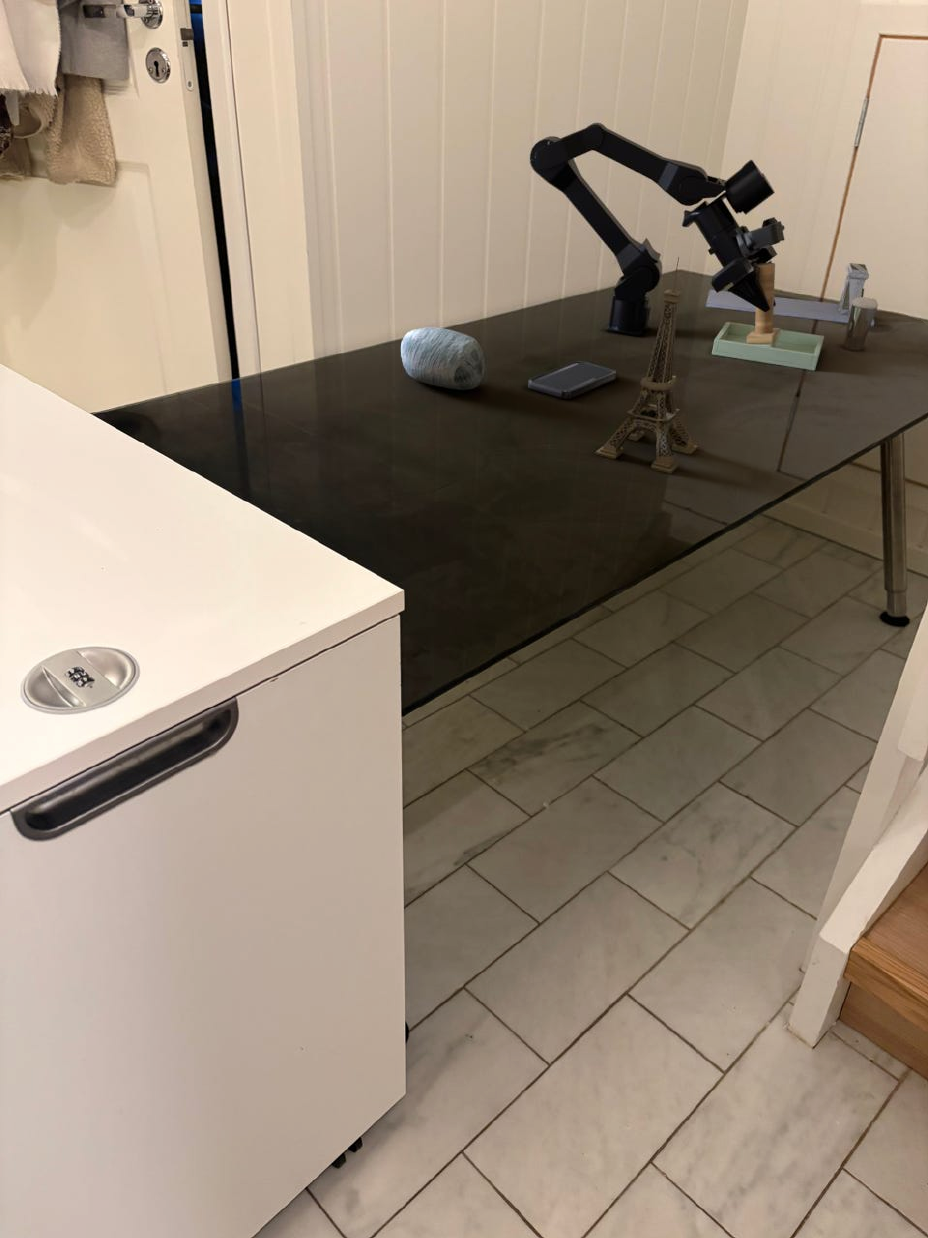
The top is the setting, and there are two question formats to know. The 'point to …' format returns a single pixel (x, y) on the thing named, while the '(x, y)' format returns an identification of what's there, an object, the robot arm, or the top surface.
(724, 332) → the tray
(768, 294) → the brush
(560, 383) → the phone
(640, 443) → the top surface
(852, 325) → the milkshake
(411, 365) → the blue yarn skein
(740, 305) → the monument
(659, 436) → the eiffel tower
